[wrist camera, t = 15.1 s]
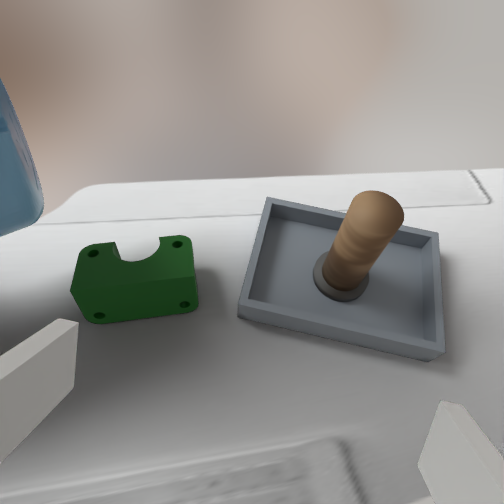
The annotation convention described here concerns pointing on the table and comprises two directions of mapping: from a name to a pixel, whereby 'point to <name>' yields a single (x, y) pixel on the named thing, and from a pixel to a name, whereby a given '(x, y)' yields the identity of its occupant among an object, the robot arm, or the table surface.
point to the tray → (353, 312)
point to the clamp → (135, 282)
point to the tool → (357, 245)
